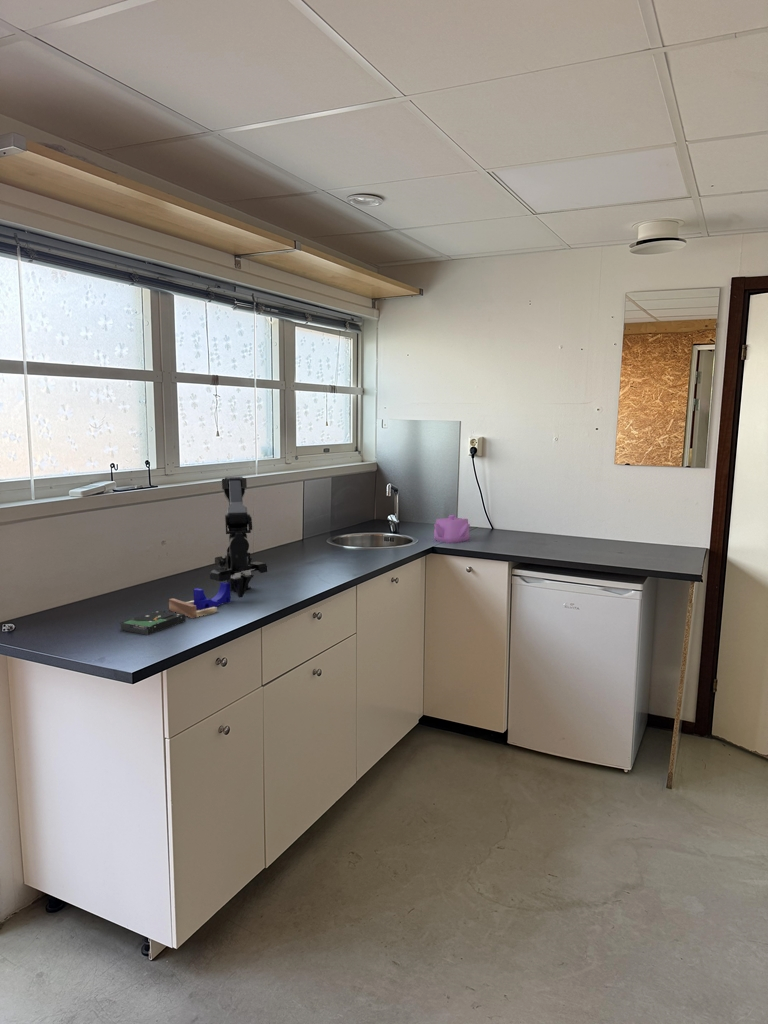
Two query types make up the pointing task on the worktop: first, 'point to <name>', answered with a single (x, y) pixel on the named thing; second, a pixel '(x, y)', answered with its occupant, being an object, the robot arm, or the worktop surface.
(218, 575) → the robot arm
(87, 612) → the worktop surface
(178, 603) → the frame
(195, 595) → the blue cradle bracket
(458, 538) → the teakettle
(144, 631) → the disk drive
